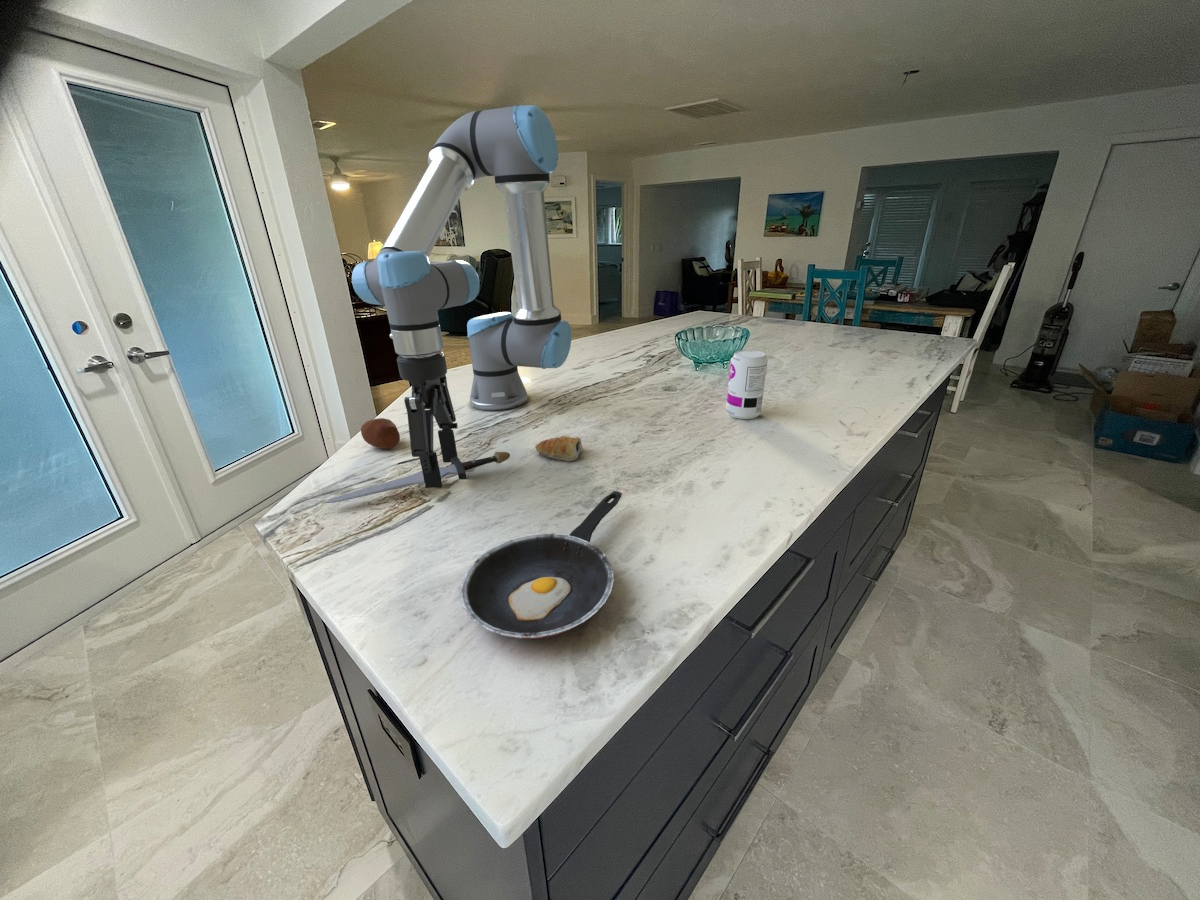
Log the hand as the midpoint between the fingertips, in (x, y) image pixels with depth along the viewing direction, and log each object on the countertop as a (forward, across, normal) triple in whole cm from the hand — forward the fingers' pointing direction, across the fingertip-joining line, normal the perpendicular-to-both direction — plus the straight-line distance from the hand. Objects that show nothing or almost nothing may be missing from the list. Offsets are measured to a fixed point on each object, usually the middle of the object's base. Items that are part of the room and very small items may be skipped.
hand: (442, 473), depth 86 cm
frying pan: (+2, +24, +25) cm, 35 cm away
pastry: (+2, -11, +21) cm, 24 cm away
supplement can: (+2, -32, +64) cm, 72 cm away
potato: (+2, -17, -19) cm, 26 cm away
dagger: (0, +2, -3) cm, 3 cm away
